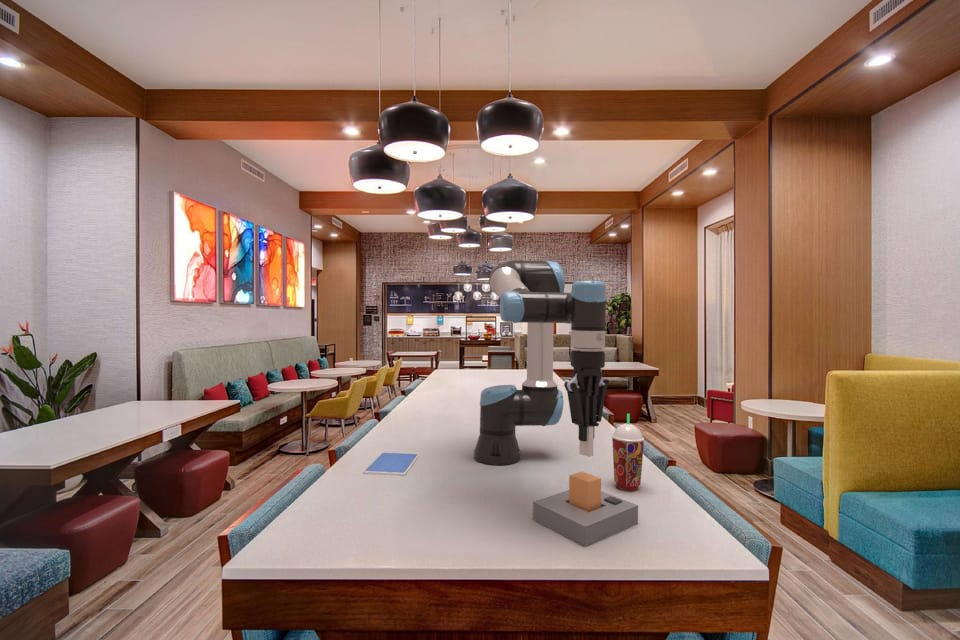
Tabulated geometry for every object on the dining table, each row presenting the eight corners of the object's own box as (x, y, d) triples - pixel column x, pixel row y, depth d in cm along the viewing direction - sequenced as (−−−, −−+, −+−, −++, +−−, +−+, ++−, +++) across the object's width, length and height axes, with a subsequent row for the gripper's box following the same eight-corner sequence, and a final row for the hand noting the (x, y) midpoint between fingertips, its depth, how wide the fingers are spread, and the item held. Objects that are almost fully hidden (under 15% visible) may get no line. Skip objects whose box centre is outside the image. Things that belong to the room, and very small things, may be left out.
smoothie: (645, 494, 117) (647, 417, 117) (612, 491, 119) (613, 416, 119) (640, 483, 125) (642, 411, 125) (610, 480, 127) (611, 410, 127)
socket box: (532, 519, 101) (533, 499, 101) (584, 500, 112) (585, 482, 112) (585, 546, 89) (585, 524, 89) (637, 523, 100) (638, 503, 100)
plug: (568, 519, 102) (569, 475, 102) (581, 514, 104) (582, 471, 104) (587, 528, 97) (588, 482, 97) (600, 522, 100) (601, 478, 100)
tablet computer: (382, 455, 149) (382, 451, 149) (419, 457, 148) (419, 453, 148) (362, 475, 129) (362, 471, 129) (405, 477, 128) (405, 473, 128)
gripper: (581, 351, 94) (580, 464, 94) (619, 350, 102) (618, 454, 102) (555, 349, 100) (553, 455, 100) (593, 348, 108) (591, 446, 108)
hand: (586, 454), depth 101 cm, fingers closed
